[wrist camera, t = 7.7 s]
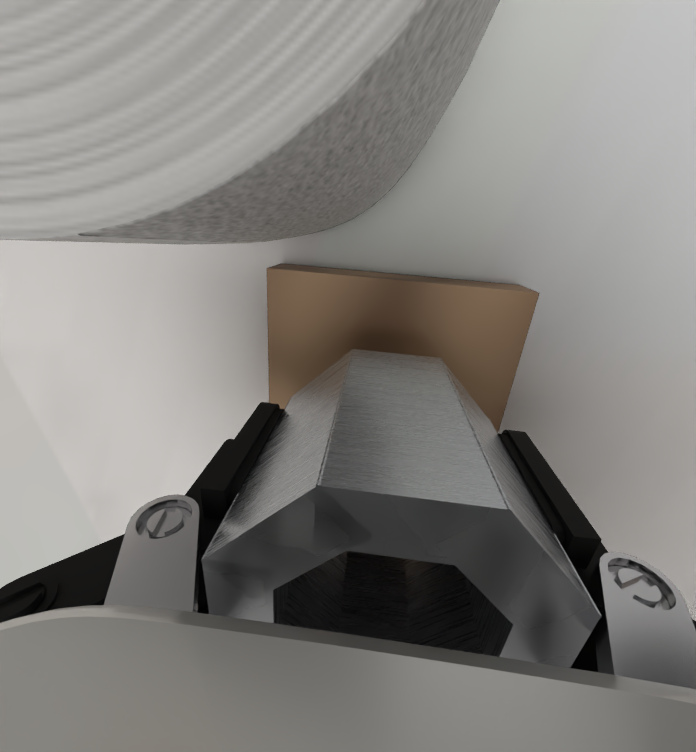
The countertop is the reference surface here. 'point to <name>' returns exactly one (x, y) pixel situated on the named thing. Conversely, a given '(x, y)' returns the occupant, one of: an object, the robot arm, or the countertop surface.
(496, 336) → the shaft block
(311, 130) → the toilet paper roll
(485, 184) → the countertop surface
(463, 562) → the hub
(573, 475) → the countertop surface
